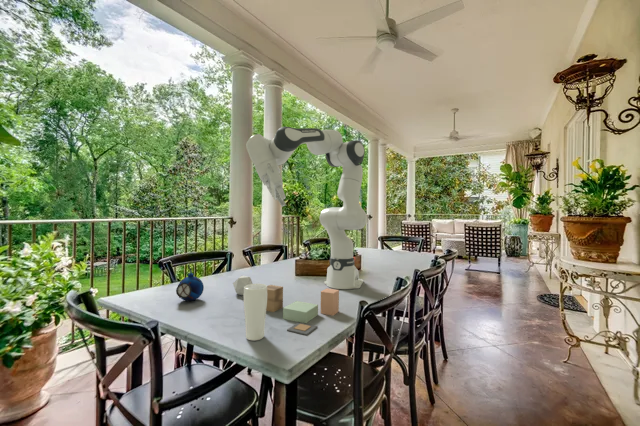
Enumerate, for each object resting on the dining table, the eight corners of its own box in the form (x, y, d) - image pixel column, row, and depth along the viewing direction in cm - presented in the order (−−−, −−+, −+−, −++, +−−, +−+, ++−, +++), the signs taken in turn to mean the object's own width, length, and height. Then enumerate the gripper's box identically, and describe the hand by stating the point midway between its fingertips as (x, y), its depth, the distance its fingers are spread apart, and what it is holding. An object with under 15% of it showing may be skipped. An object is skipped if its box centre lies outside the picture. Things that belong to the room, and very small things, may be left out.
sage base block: (296, 311, 110) (296, 300, 109) (317, 315, 106) (318, 304, 106) (282, 319, 101) (283, 307, 101) (305, 324, 97) (306, 312, 97)
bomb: (170, 304, 114) (170, 266, 114) (185, 296, 125) (185, 261, 125) (195, 305, 113) (195, 266, 113) (207, 297, 124) (208, 261, 124)
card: (298, 323, 97) (298, 321, 97) (317, 327, 94) (317, 325, 94) (286, 330, 91) (287, 328, 91) (306, 335, 88) (306, 333, 88)
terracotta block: (326, 309, 112) (326, 288, 112) (338, 311, 109) (338, 290, 109) (320, 313, 107) (320, 291, 107) (333, 315, 105) (333, 293, 105)
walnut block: (270, 305, 116) (270, 284, 116) (282, 307, 113) (283, 286, 113) (260, 309, 110) (260, 288, 110) (273, 312, 108) (273, 290, 108)
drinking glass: (270, 338, 85) (271, 287, 85) (248, 344, 81) (249, 290, 81) (261, 330, 91) (261, 282, 91) (239, 336, 87) (240, 285, 87)
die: (257, 295, 131) (254, 275, 136) (250, 290, 123) (246, 269, 128) (240, 301, 131) (237, 281, 136) (231, 296, 124) (228, 275, 129)
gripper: (276, 157, 108) (292, 190, 106) (276, 178, 128) (290, 206, 125) (260, 164, 107) (276, 197, 104) (263, 183, 126) (276, 212, 124)
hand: (283, 202), depth 115 cm, fingers open, 8 cm apart
